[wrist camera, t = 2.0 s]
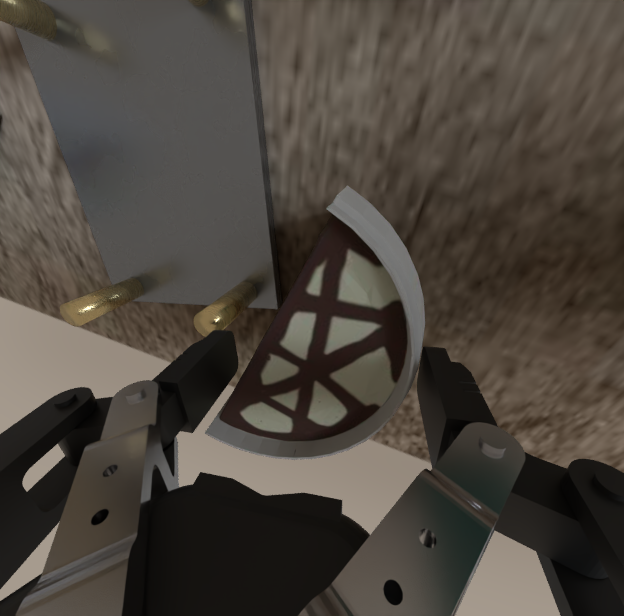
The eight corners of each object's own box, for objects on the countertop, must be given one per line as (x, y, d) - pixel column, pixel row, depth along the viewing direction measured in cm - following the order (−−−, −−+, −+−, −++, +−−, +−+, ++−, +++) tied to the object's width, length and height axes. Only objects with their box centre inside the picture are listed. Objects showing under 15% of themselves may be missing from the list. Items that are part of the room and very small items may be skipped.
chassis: (246, -50, 13) (148, -217, 7) (282, 303, 20) (247, 347, 15) (25, 9, 16) (-155, -78, 10) (127, 295, 23) (52, 329, 18)
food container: (341, 372, 22) (313, 505, 13) (275, 332, 21) (200, 439, 13) (451, 239, 16) (541, 314, 7) (362, 183, 16) (338, 186, 7)
